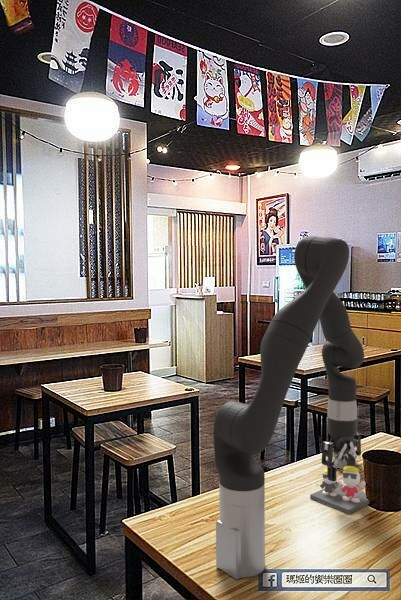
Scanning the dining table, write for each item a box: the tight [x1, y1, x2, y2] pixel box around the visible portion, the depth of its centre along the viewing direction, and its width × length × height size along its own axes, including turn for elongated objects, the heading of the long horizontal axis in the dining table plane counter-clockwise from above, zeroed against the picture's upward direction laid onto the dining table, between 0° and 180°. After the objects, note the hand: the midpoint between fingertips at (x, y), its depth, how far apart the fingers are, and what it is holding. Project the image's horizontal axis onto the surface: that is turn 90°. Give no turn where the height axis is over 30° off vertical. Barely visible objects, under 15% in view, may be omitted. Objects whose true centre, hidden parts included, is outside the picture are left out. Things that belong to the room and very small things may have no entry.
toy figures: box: [319, 466, 366, 503], centre depth 134 cm, size 12×4×8 cm, turn 51°
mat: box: [309, 483, 370, 515], centre depth 135 cm, size 12×12×1 cm
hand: (341, 476), depth 134 cm, fingers open, 8 cm apart
